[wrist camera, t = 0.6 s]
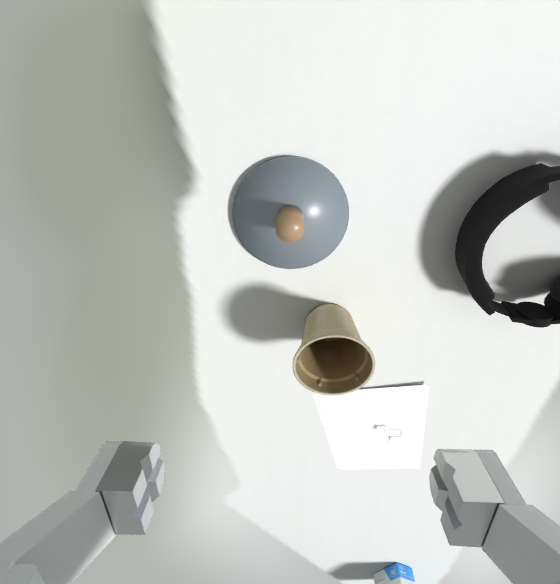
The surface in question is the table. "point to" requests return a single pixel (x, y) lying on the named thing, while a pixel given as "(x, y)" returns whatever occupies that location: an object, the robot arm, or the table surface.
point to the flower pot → (332, 353)
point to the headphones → (480, 227)
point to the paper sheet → (375, 426)
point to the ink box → (395, 575)
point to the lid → (290, 212)
